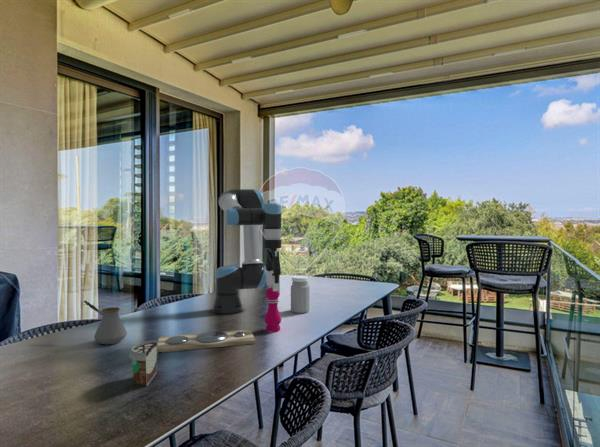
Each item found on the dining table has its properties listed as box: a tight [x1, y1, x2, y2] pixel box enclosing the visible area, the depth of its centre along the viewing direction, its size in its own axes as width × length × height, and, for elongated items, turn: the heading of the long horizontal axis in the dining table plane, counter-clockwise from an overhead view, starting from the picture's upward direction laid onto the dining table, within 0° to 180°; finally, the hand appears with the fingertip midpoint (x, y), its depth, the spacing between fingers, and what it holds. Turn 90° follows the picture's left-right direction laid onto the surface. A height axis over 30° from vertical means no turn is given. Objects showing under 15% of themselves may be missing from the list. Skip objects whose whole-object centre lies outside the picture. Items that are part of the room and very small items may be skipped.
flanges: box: [196, 331, 246, 343], centre depth 147 cm, size 12×19×1 cm, turn 106°
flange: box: [166, 335, 188, 344], centre depth 142 cm, size 8×8×1 cm
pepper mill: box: [264, 284, 282, 333], centre depth 160 cm, size 7×7×20 cm
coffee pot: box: [81, 300, 128, 345], centre depth 147 cm, size 21×12×15 cm, turn 66°
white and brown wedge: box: [129, 339, 158, 387], centre depth 112 cm, size 12×6×10 cm, turn 5°
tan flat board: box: [157, 328, 256, 354], centre depth 145 cm, size 14×36×2 cm, turn 106°
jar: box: [290, 275, 311, 314], centre depth 192 cm, size 10×10×18 cm
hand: (272, 288), depth 160 cm, fingers open, 13 cm apart
